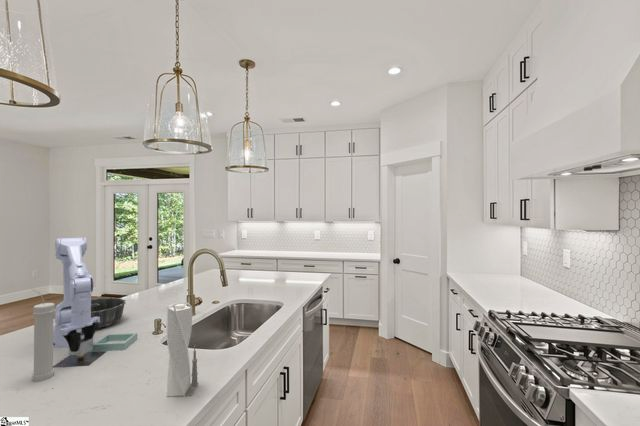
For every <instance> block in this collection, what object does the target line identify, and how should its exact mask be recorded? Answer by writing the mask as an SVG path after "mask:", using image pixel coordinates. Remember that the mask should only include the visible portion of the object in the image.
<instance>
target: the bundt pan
mask: <svg viewBox="0 0 640 426" xmlns="http://www.w3.org/2000/svg"><path fill="white" fill-rule="evenodd" d="M125 304H126V299H123V298H121V297H117V298H116V297H115V298H114V297H99V298H91V318H93V317H100V322H96V323H95V324H98V328H97V329H96V330H99V329H100V328H106V327H108V326H110V325H111V326H112V325H114V324H116V323H117V322H119V320H121V318H122V316H123V313H124V308H125ZM65 308H71V306H69V307H64V308H62V309H65Z"/></svg>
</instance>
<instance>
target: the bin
mask: <svg viewBox="0 0 640 426" xmlns="http://www.w3.org/2000/svg"><path fill="white" fill-rule="evenodd" d="M137 340H138V332H130V333H129V332H128V333H127V332H126V333H109V334H105V335H104V336H102V337H101V338H99V339H98V340H96V341H95V342H93V350H91V351H90V352H99V351H107V352H108V351H125V350H126V349H127V348H128V347H130V346H131V345H132V344H133V343H134V342H135V341H137ZM121 341H122V342H121Z"/></svg>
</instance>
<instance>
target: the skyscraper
mask: <svg viewBox="0 0 640 426" xmlns="http://www.w3.org/2000/svg"><path fill="white" fill-rule="evenodd" d="M187 305H188V306H187ZM192 326H193V306H192V305H191V304H190V303H189V302H187V301H178V302H175V303H171V304H170V305H167V306H166V325H165V327H166V341H167V349H168V354H169V355H168V356H169V359H168V368H167V382H166V383H167V384H166V397H167V398H177V397H192V395H193V394H194V392H195V390H196V388H197V387H198V385H199V382H198V365H197V363H198V358H197V351H196V345H194V346H193V349H194V350H193V351H192V352H193V353H192V354H193V359H192V366H191V362H190V355H189V353H190V352H189V344H190V340H191V335H192V328H193V327H192ZM191 367H192V369H191Z"/></svg>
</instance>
